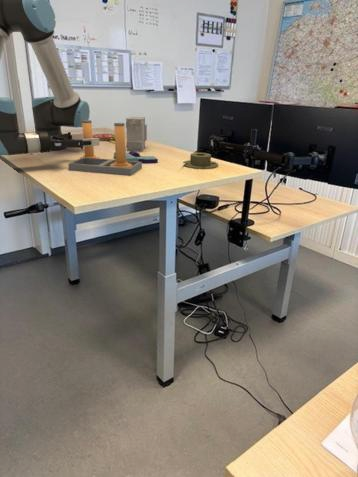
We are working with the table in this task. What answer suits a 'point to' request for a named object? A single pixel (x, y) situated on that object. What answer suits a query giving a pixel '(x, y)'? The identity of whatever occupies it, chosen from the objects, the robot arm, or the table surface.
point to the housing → (103, 166)
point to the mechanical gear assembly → (105, 137)
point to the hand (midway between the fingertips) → (93, 139)
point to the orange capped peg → (120, 147)
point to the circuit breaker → (136, 134)
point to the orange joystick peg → (88, 135)
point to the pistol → (139, 158)
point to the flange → (200, 161)
